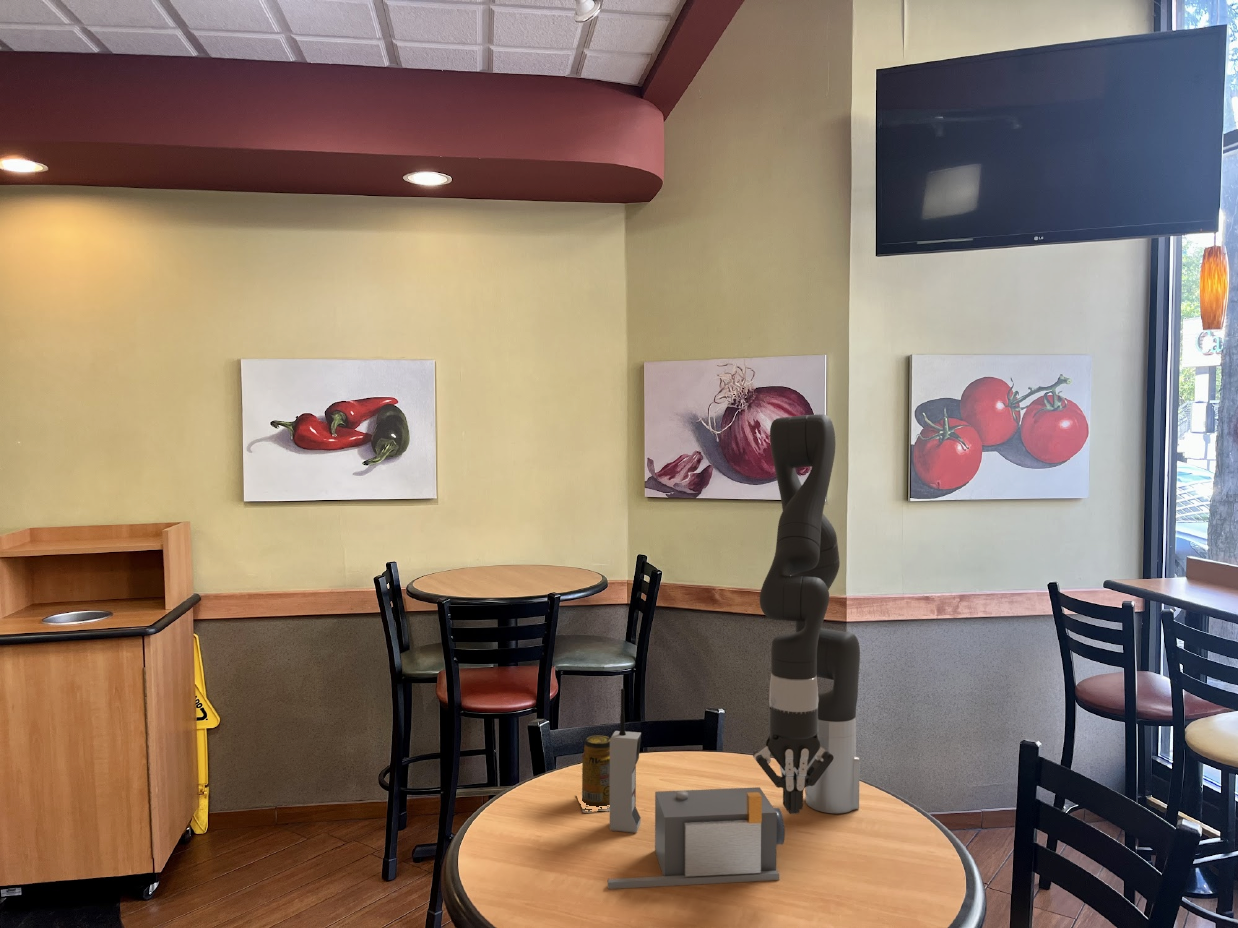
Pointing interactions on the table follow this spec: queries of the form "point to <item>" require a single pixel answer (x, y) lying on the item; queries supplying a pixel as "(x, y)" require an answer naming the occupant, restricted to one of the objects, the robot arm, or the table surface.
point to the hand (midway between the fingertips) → (792, 811)
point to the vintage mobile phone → (624, 777)
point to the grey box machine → (705, 808)
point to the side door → (725, 844)
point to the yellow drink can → (596, 772)
